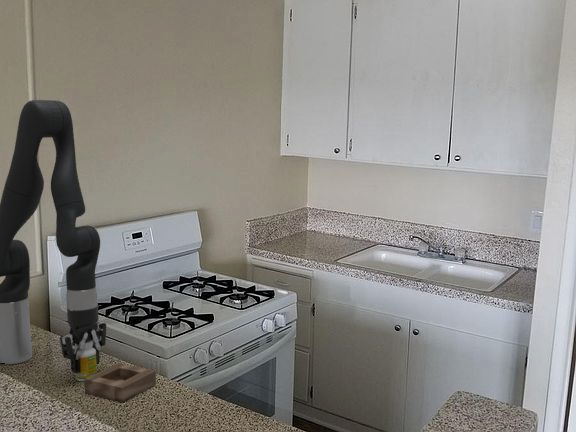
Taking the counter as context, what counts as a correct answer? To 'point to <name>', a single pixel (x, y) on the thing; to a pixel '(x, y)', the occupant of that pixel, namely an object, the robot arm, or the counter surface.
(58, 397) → the counter surface
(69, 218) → the robot arm
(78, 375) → the supplement bottle
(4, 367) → the counter surface
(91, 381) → the socket block
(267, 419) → the counter surface
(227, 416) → the counter surface
